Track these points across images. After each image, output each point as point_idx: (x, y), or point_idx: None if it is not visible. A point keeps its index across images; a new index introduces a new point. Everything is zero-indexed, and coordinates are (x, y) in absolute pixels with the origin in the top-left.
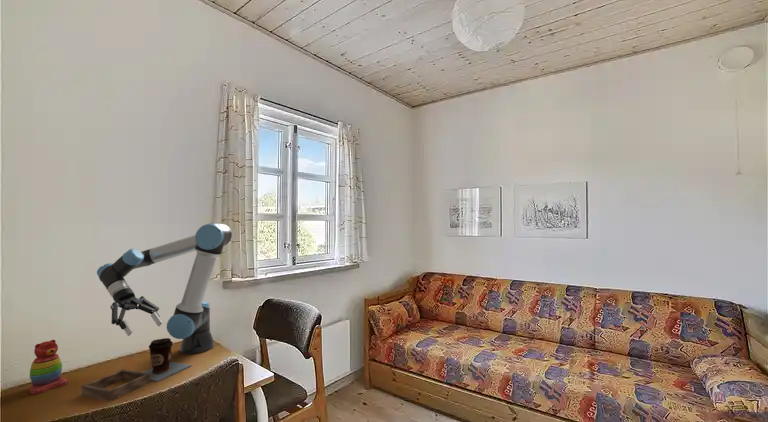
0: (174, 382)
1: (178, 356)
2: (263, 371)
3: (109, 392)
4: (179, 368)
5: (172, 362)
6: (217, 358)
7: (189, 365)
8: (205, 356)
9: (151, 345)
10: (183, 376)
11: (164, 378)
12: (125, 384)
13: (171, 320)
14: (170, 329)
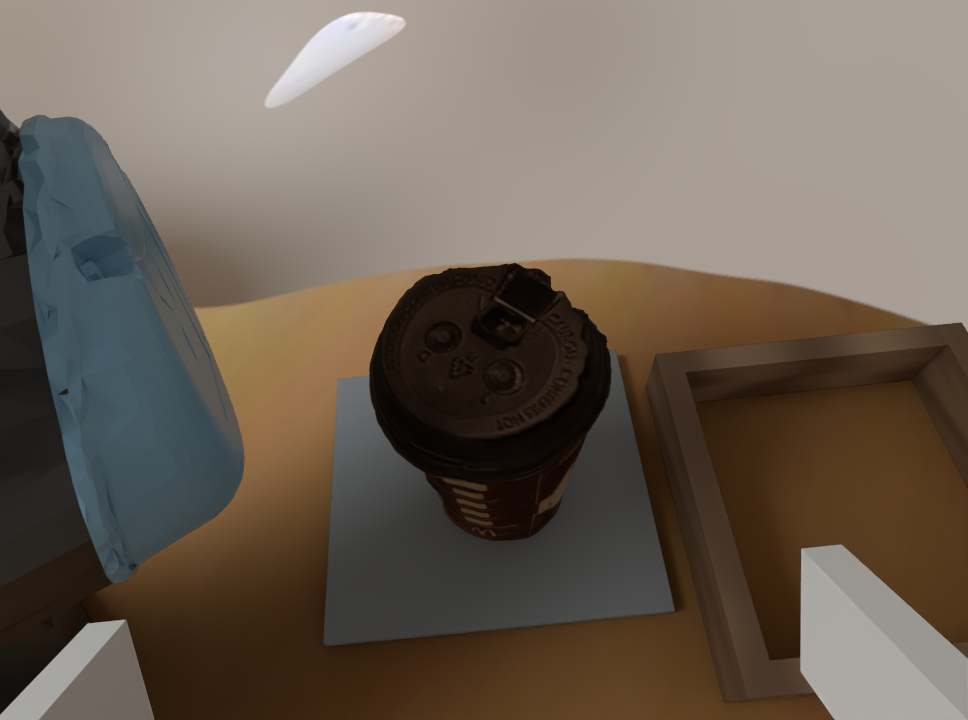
0: (565, 266)
1: (164, 714)
2: (308, 46)
3: (957, 325)
4: None
5: (334, 571)
6: None
7: (351, 380)
8: None
9: (596, 358)
10: None
11: None
12: (846, 337)
13: (158, 303)
14: (223, 420)
